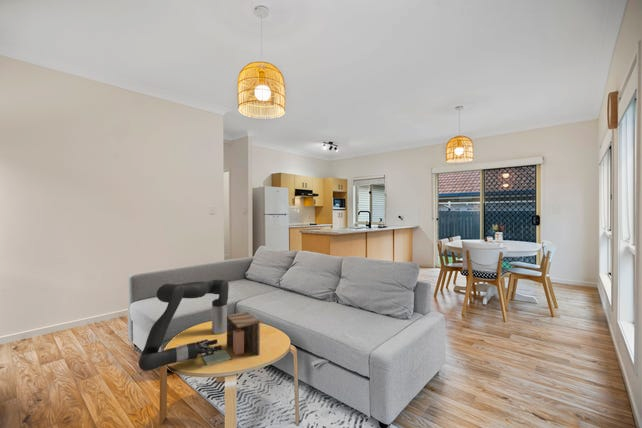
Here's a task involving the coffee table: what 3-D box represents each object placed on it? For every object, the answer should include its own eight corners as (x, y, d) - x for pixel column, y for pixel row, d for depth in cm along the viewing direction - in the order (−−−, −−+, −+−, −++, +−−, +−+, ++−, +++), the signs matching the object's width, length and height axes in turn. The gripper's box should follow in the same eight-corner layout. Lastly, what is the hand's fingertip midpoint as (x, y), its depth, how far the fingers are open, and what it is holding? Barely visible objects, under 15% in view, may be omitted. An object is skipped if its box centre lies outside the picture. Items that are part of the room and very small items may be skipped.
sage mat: (202, 356, 154) (202, 355, 154) (225, 350, 161) (225, 349, 161) (207, 365, 145) (207, 364, 145) (231, 358, 152) (231, 357, 152)
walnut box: (226, 347, 165) (226, 315, 166) (247, 342, 172) (247, 311, 172) (237, 361, 150) (237, 326, 150) (259, 354, 156) (259, 321, 157)
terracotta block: (233, 352, 160) (233, 330, 160) (241, 349, 162) (241, 328, 162) (235, 355, 156) (235, 332, 156) (243, 353, 159) (244, 331, 159)
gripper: (188, 350, 138) (223, 342, 148) (183, 339, 150) (215, 332, 159) (188, 366, 138) (223, 356, 148) (183, 354, 150) (215, 346, 159)
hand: (219, 344), depth 153 cm, fingers open, 8 cm apart
